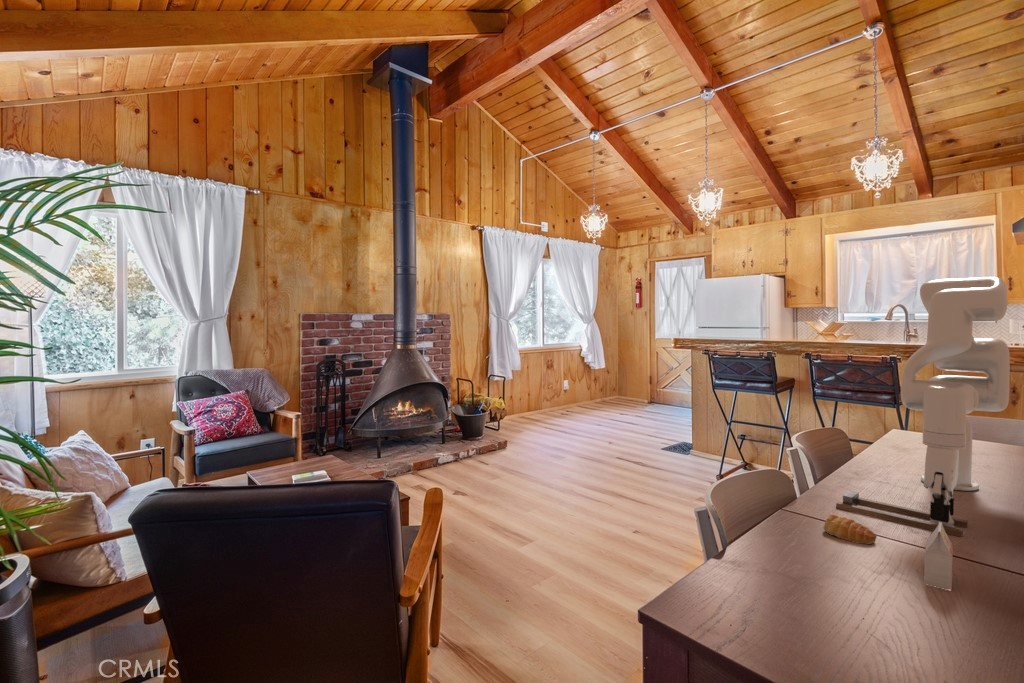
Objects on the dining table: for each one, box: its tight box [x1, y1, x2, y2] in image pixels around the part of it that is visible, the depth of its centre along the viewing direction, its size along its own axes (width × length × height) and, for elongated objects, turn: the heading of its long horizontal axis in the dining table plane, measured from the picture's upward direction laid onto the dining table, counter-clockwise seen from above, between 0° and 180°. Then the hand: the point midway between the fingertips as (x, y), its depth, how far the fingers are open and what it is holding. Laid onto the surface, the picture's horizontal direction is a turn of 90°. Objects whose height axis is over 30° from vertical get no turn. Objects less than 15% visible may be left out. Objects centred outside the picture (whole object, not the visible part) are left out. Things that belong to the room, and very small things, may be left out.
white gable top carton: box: [923, 521, 954, 589], centre depth 92 cm, size 4×7×10 cm, turn 138°
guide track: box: [835, 497, 969, 538], centre depth 122 cm, size 9×24×1 cm, turn 41°
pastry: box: [823, 514, 878, 545], centre depth 111 cm, size 9×7×4 cm
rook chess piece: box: [929, 493, 956, 528], centre depth 116 cm, size 4×4×8 cm
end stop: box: [842, 490, 860, 506], centre depth 129 cm, size 6×2×3 cm, turn 132°
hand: (941, 516), depth 116 cm, fingers open, 5 cm apart
